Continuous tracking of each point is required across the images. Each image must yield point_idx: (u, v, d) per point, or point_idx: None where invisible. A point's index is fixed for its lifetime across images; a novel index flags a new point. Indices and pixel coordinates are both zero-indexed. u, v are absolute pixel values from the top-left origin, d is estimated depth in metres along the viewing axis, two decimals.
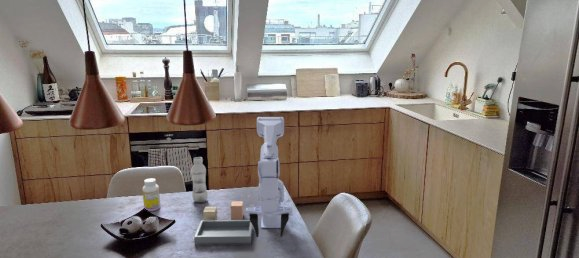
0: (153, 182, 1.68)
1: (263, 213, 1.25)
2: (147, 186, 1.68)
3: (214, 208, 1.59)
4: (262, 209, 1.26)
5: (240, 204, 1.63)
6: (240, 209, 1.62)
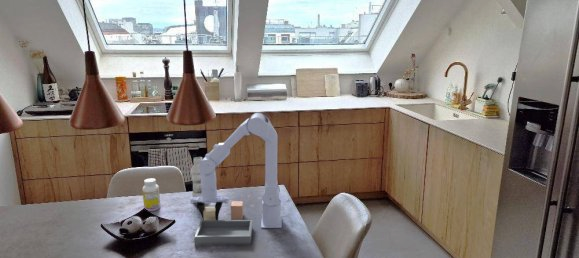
0: (153, 182, 1.68)
1: (203, 201, 1.55)
2: (147, 186, 1.68)
3: (214, 208, 1.59)
4: (202, 198, 1.55)
5: (240, 204, 1.63)
6: (240, 209, 1.62)
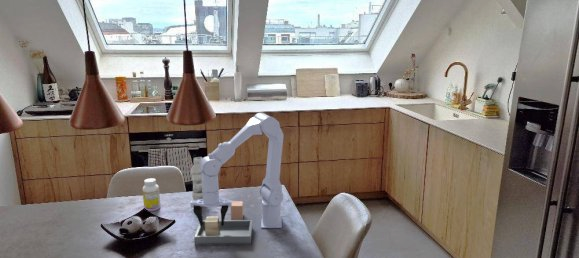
0: (153, 182, 1.68)
1: (205, 205, 1.43)
2: (147, 186, 1.68)
3: (216, 218, 1.48)
4: (203, 201, 1.44)
5: (240, 204, 1.63)
6: (240, 209, 1.62)
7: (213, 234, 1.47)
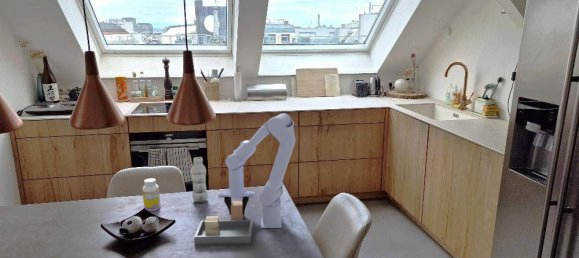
0: (153, 182, 1.68)
1: (231, 196, 1.60)
2: (147, 186, 1.68)
3: (216, 218, 1.48)
4: (230, 192, 1.60)
5: (240, 204, 1.63)
6: (240, 209, 1.62)
7: (213, 234, 1.47)
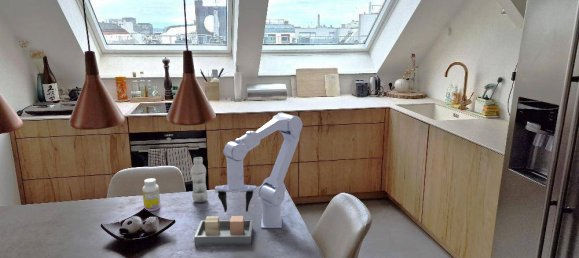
0: (153, 182, 1.68)
1: (230, 190, 1.42)
2: (147, 186, 1.68)
3: (216, 218, 1.48)
4: (228, 186, 1.43)
5: (240, 219, 1.47)
6: (240, 225, 1.46)
7: (213, 234, 1.47)
